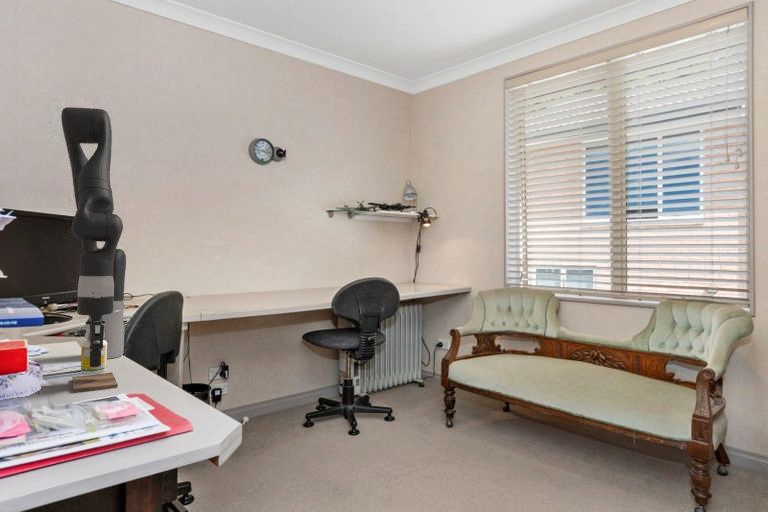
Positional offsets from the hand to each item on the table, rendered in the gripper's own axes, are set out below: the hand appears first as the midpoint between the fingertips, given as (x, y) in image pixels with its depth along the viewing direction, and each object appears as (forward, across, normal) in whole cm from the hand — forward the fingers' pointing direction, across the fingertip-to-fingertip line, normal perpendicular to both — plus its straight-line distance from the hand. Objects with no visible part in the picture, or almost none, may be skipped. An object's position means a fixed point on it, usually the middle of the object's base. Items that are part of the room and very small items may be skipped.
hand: (94, 363), depth 113 cm
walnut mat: (+5, 0, 0) cm, 5 cm away
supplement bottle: (+2, 0, 0) cm, 2 cm away
